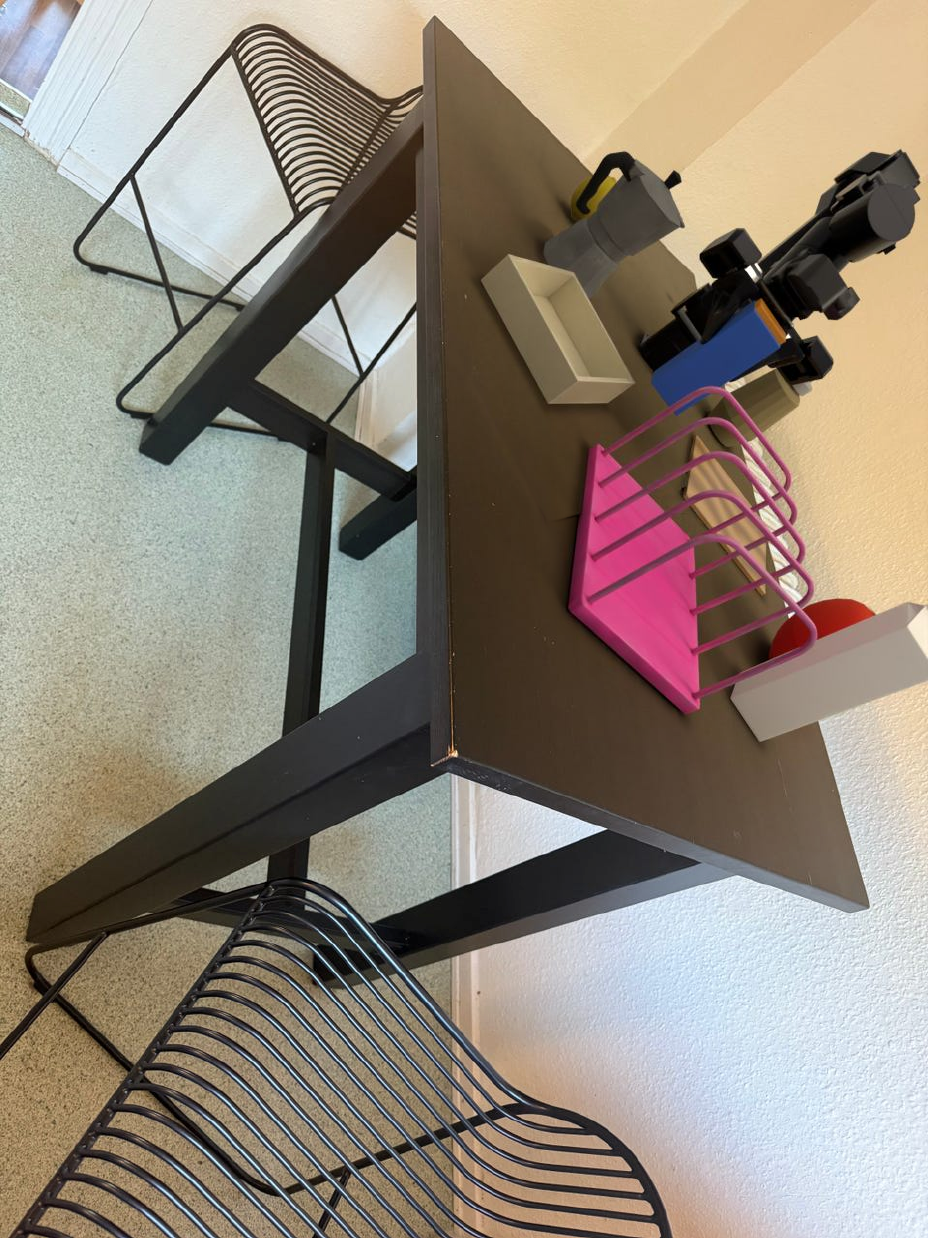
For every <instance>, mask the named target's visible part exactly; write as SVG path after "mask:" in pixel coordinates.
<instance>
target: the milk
mask: <svg viewBox="0 0 928 1238" xmlns="http://www.w3.org/2000/svg"><path fill="white" fill-rule="evenodd" d="M799 648H800V647H799ZM797 649H798V648H797ZM795 650H796V649H795ZM792 651H793V650H792ZM790 652H791V651H790ZM788 653H789V652H788ZM785 654H787V653H785ZM783 655H784V654H783ZM780 656H782V655H780ZM780 656H778V657H780ZM776 658H777V657H776ZM773 659H775V658H773ZM773 659H771V660H773ZM771 660H769V659H768V660H767V661H764V662H762V663H759V664H757V665H755V666H753V667H750V668H748V669H745V670H743V671H741V672H739V673H738V674H740V673H742V672H745V671H747V670H750V669H752V668H754V667H756V666H759V665H761V664H764V663H766V662H768V661H771ZM926 682H928V604H926V605H925V604H919V603H915V602H911V601H906V602H903V603H901V604H899V605H896V606H894V607H891V608H889V609H887V610H885V611H883V612H880V613H876V615H875V616H872V617H870V618H868V619H865V620H863V621H861V622H858V623H856V624H854V625H851V626H849V627H847V628H844V629H842V630H839V631H837V632H835V633H832V634H830V635H828V636H825V637H823V638H821V639H818V640H816V642H815V644H814V646H813V647H812V648H811V649H810V650H809V651H807V652H806V653H804V654H803V655H801V656H798V657H796V658H794V659H792V660H789V661H787V662H785V663H783V664H781V665H778V666H775V667H773V668H771V669H768V670H766V671H764V672H761V673H759V674H757V675H754V676H752V677H749V678H747V679H745V680H742V681H740V682H737V683H735V684H734V686H733V689H732V693H731V695H730V697H729V699H730V701H731V702H732V704H733V705H734V707H735V709H737V711H738V713H739V714H740V715H741V718H742V719H743V720H744V721H745V723H746V724H747V726H748V727H749V729H750V730H751V732H752V734H753V735H754V736H755V738H756V739H757V741H758V742H759V743H761V742H763V741H767V740H769V739H772V738H775V737H778V736H781V735H783V734H786V733H789V732H791V731H794V730H797V729H801V728H803V727H805V726H808V725H811V724H813V723H816V722H819V721H821V720H825V719H828V718H830V717H833V716H835V715H838V714H841V713H844V712H847V711H849V710H852V709H854V708H858V707H861V706H863V705H866V704H870V703H872V702H875V701H876V700H879V699H883V698H886V697H888V696H891V695H893V694H897V693H900V692H902V691H904V690H907V689H910V688H913V687H916V686H918V685H921V684H924V683H926Z"/></svg>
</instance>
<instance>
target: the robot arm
mask: <svg viewBox="0 0 928 1238" xmlns="http://www.w3.org/2000/svg"><path fill="white" fill-rule="evenodd" d="M920 179H921V175H920V173H919V172H918V170H917V169H916V167H915V165H914V163H913V161H912V160H911V158H910V156H909V155H908V153H907V152H906V151H903V150H902V149H901V148H899V149H897V150H896V151H895V152H893V153H891V154H888V153H883V152H877V151H870V152H868V153H867V154H865V155H863V156H862V157H861V158H859V159H858V160H856V161H855V162H853V163H852V164H850V165H849V166H848V167H846V168H845V169H844V170H843V171H841V172H840V173H838V174H837V175H836V176H835V177H834V178H833V181H834V182H835V183H834V184H832V185H831V186H830V187H829V188H828V189H827V190H826V191H824V192H823V193H822V194H821V195H820V197H819V200H818V203H817V207H816V210H815V212H814V215H812V216H811V217H810V218H809V219H808V220H806V221H805V222H804V223H803V224H802V225H800V226H799V227H798V228H796V230H794V231H793V232H792V233H791V234H790V235H788V236H787V237H786V238H784V240H782V241H781V242H780V243H779V244H777V245H776V246H775V247H774V248H773V249H771V250H770V251H769V252H767V253H766V254H765V255H763V253H762V252H761V251H760V249H759V247H758V246H757V244H756V243H755V242H754V240H753V238H752V237H751V236H750V234H749V232H748V231H747V230H746V228H745V227H735V228H734V229H732V230H730V231H728V232H726V233H724V234H723V235H720V236H719V237H717V238H715V239H714V240H713V241H711V242H710V243H709V244H707V246H706V247H705V248H704V249H703V250H702V251H701V252H700V253H699V254H698V255H699V256H698V257H699V259H698V260H699V261H700V263H701V264H702V266H703V267H704V268H705V270H706V271H707V273H708V274H709V275H710V277H711V278H712V279H714V280H713V281H712V283H711V284H710V282H709V281H708V282H706V283H705V284H704V285H702V286H700V287H699V288H697V289H696V290H694V291H693V292H691V293H690V294H688V295H687V296H685V297H684V298H683V299H682V300H681V301H679V302H678V303H677V304H675V305H674V307H673V308H672V309H671V310H670V314H672V315H673V316H674V318H673V319H672V320H671V321H670V322H667V324H666V325H664V326H662V327H661V328H660V329H659V330H657V331H656V332H655V333H653V334H652V335H651V336H650V335H649V334H648V333H647V332H644V334H642V336H641V340H640V342H639V345H638V350H639V352H640V354H641V355H643V358H644V359H645V360H646V362H648V364H649V365H650V367H651V368H652V369H653V370H654V371H656V370H657V369H658V368H660V367H661V366H663V365H664V364H665V363H667V362H668V361H670V360H671V359H672V358H674V357H675V356H677V355H678V354H679V353H681V352H682V351H684V350H685V349H687V348H688V347H689V346H691V345H692V344H694V343H695V342H696V341H698V340H699V339H701V341H700V343H701V344H702V345H703V344H706V343H707V342H708V341H710V340H711V339H712V338H713V337H714V336H715V335H716V334H717V333H718V332H719V331H720V330H721V329H722V328H723V327H724V325H725V324H726V323H727V322H728V321H729V319H730V318H731V317H732V316H733V315H734V314H736V313H737V312H738V311H740V310H741V309H743V308H744V307H745V306H747V305H748V304H750V303H751V302H753V301H754V300H755V301H758V300H759V299H760V298H761V299H762V300H763V301H764V303H765V304H766V306H767V307H768V309H769V310H770V312H771V313H772V314H773V316H774V317H775V319H776V320H777V322H778V323H779V325H780V326H781V327H782V329H783V330H784V332H785V333H786V341H785V342H784V343H782V344H781V345H780V348H779V349H777V350H776V351H774V352H773V353H771V354H770V355H768V356H767V357H765V358H764V359H762V360H761V361H759V362H758V363H756V364H755V365H753V366H752V367H750V368H749V369H747V370H746V371H744V372H743V373H741V374H740V375H738V376H737V377H735V378H734V379H732V380H731V381H729V382H728V383H734V382H736V381H737V382H738V381H739V380H740V379H742V378H745V377H746V376H748V375H750V374H752V373H754V372H756V371H758V370H760V369H762V368H765V367H768V368H769V369H771V370H774V369H776V368H777V370H778V371H779V373H780V374H781V376H782V377H783V378H784V380H785V381H786V382H787V383H789V384H790V385H796V384H801V383H806V382H810V381H812V382H814V381H819V380H823V379H824V378H826V376H827V375H828V374H829V372H831V371H832V370H833V367H834V363H835V362H834V358H833V357H832V355H831V353H830V352H829V350H828V349H827V347H826V345H824V343H823V341H822V340H821V338H820V337H819V335H818V334H816V335H813V336H810V337H805V338H802V337H801V335H800V334H799V332H798V331H797V330H796V329H795V324H794V321H795V320H796V318H798V321H804V320H807V319H808V318H809V317H810V316H812V314H814V312H818V313H819V314H823V315H824V316H825V317H826V319H827V320H828V321H839V320H841V319H843V318H844V317H845V316H846V315H848V314H849V313H850V312H851V311H852V310H853V309H854V308H855V307H856V306H857V304H858V303H859V302H860V301H861V298H860V297H859V295H858V294H857V291H855V289H854V287H853V286H848V285H847V283H846V282H845V281H844V279H843V277H842V276H841V272H842V271H843V270H844V269H845V268H846V266H848V265H849V264H850V263H851V264H852V263H853V264H854V263H855V264H856V263H859V262H862V261H864V260H866V259H867V258H870V257H871V256H873V255H880V254H882V253H883V254H884V255H885V256H886V255H888V254H890V253H891V252H892V251H894V250H895V249H897V245H896V244H897V243H898V242H900V241H902V240H904V239H906V238H907V237H908V236H909V235H910V234H911V231H912V229H913V227H914V224H915V222H916V209H915V208H916V207H915V205H916V204H917V203H918V202H920V201H921V197H920V196H919V194H918V192H917V191H916V188H917V187H919V186H920V184H921V183H922V182H921V180H920ZM684 307H685V308H684Z"/></svg>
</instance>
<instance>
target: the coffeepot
mask: <svg viewBox="0 0 928 1238" xmlns="http://www.w3.org/2000/svg"><path fill="white" fill-rule="evenodd" d="M616 169H619V170H620V172H621V173H622V174H621V176H620V177H619V178H618V180H616V181H617V182H616V183H615V185H614V186H613V187H612V188H611V189H610V191H609V192H608V193H607V194H606V195H605V196H604V198H603V199H602V200H601V201H600V202H599V204H598V206H597V211H596V212H594V213H593V214H592V215H591V216H590V217H589V218H583V219H581V220H580V221H579V220H577V222H575V223H574V224H572V225H571V226H569V227H567V228H565V229H564V230H563V231H561V232H559V233H558V234H557V235H555V236H553V237H552V238H550V239H549V240H547V241H545V242H544V248H543V257H544V259H545V261H546V263H547V265H549V266H553V267H556V268H560V269H564V270H567V271H571V272H574V274H575V275H576V277H577V279H578V281H579V283H580V284H581V286H582V288H583V290H584V292H585V293H586V295H587V297H588V299H589V300H590V299H592V297H593V296H594V295H595V294H596V293H597V291H598V290H599V289H600V288H601V287H602V286H603V285H604V283H606V282H607V280H608V279H609V278H610V277H611V276H612V274H613V273H614V272H616V270H617V269H618V268H619V264H620V263H621V262H622V261H623V260H624V259H626V257H628V256H631V257H634V256H635V255H637V254H639V253H641V252H642V251H644V250H646V249H647V248H649V247H650V246H652V245H653V244H655V243H656V242H658V241H660V240H661V239H664V238H665V237H666V236H668V235H670V234H671V233H673V232H675V231H676V230H678V229H679V228H680V229H685V228H686V225H685V222H684V219H683V217H682V216H681V212H680V210H679V208H678V206H677V204H676V201H675V200H674V198H673V195H672V192H671V189H673V188H675V187H676V186H678V185H680V184H681V183H682V182H683V180H682V176H681V174H680V173H679V172H678V171H676V170H675V169H673V170H672V171H671V173H670V174H669V175H668V177H666V178H665V180H663V179H662V178H661V177H660V176H659V175H657V174H656V173H655V172H654V171H653V170H651V169H650V168H649V167H648V166H646V165H645V164H643V163H642V162H641V161H639V159H637V158H634V156H632V155H631V153H629V151H617V152H610V153H608V154H606V155H605V156H604V157H603V158H602V159H601V161H600V162H599V164H598V166H597V167H596V169H595V171H594V172H593V174H592V175H593V176H592V175H591V176H592V178H591V179H590V181H589V182H588V184H587V186H586V187H585V189H584V190H583V192H582V194H581V195H580V197H579V198H578V200H577V202H576V207H577V209H578V210H579V211H580V212H581V213H582V214H584V215H586V214H589V213H590V212H591V210H590V209H589V208H588V207H587V202H588V201H589V200H590V199H591V198H592V197H593V196H594V195H595V194H596V193H597V191H598V188H599V186H600V185H601V184H602V183H603V181H604V180H605V179H606V178H607V177H608V176H610V174H611V172H612V171H613V170H616Z"/></svg>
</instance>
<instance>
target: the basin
mask: <svg viewBox="0 0 928 1238" xmlns="http://www.w3.org/2000/svg"><path fill="white" fill-rule="evenodd" d="M480 281H481V283H482V285H483V287H484V290H485V291H486V293H487V294H488V296H489V298H490V300H491V302H492V303H493V306H494V307H495V309H496V311H497V312H498V314H499V317H500V318H501V320H502V322H503V324H504V325H505V327H506V329H507V331H508V333H509V335H510V336H511V338H512V340H513V342H514V344H515V345H516V346H515V347H517V350H518V351H519V353H520V354H521V357H522V358H523V360H524V363H525V364H526V366H527V367H528V369H529V371H530V374H531V375H532V377H533V379H534V380H535V382H536V384H537V387H538V388H539V390H540V392H541V394H542V395H543V397H544V399H545V401H546V403H547V404H550V405H551V404H556V405H557V404H609V403H610V402H611V401H613V400H614V399H616V398H617V397H619V396H620V395H621V394H623V393H624V392H625V391H627V390H628V389H629V388H631V387H632V386H633V385H635V384H636V381H635V380H634V377H633V376H632V374H631V372H630V370H629V369H628V367H627V365H626V364H625V361H624V360H623V358H622V356H621V354H620V353H619V351H618V349H617V347H616V345H615V344H614V342H613V340H612V338H611V336H610V334H609V333H608V331H607V330H606V328H605V326H604V324H603V322H602V321H601V319H600V317H599V315H598V313H597V311H596V309H595V308H594V306H593V304H592V303H591V301H590V299H588V297H587V295H586V293H585V292H584V290H583V288H582V286H581V284H580V283H579V281H578V279H577V277H576V275H575V274H574V272H571V271H567V270H564V269H560V268H556V267H553V266H549V265H548V264H546V263H542V262H539V261H535V260H530V259H528V258H524V257H520V256H517V255H514V254H510V253H508V254H507V255H506V256H504V258H502V260H500V261H499V262H498V263H497V264H496V265H495V266H494V267H492V268H491V269H490V271H488V272H487V273H486V274H485V275H484V276H483V277H482V278H481V279H480Z"/></svg>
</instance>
